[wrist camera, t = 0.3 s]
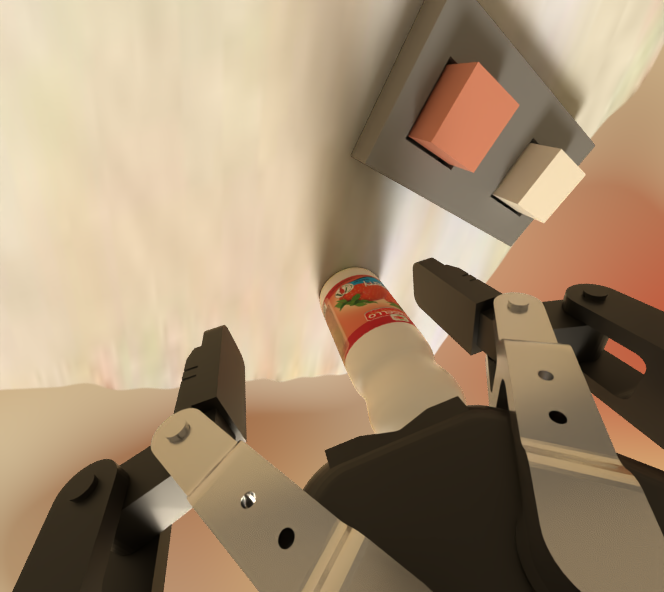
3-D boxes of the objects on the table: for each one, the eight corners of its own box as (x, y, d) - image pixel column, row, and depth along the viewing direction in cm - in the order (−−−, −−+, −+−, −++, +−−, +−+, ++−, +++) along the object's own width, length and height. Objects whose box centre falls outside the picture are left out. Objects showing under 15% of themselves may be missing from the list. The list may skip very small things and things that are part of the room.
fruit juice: (307, 311, 41) (395, 562, 19) (336, 256, 37) (489, 497, 15) (358, 322, 45) (476, 535, 24) (390, 275, 41) (564, 480, 20)
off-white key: (528, 142, 31) (561, 148, 28) (553, 166, 34) (585, 174, 31) (491, 193, 34) (517, 204, 30) (517, 211, 36) (544, 223, 33)
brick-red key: (446, 64, 24) (478, 61, 21) (486, 102, 27) (519, 105, 24) (408, 135, 27) (431, 142, 24) (448, 163, 30) (473, 172, 27)
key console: (428, -9, 24) (458, -23, 21) (564, 140, 36) (595, 145, 33) (350, 156, 30) (364, 164, 27) (490, 234, 42) (510, 246, 39)
